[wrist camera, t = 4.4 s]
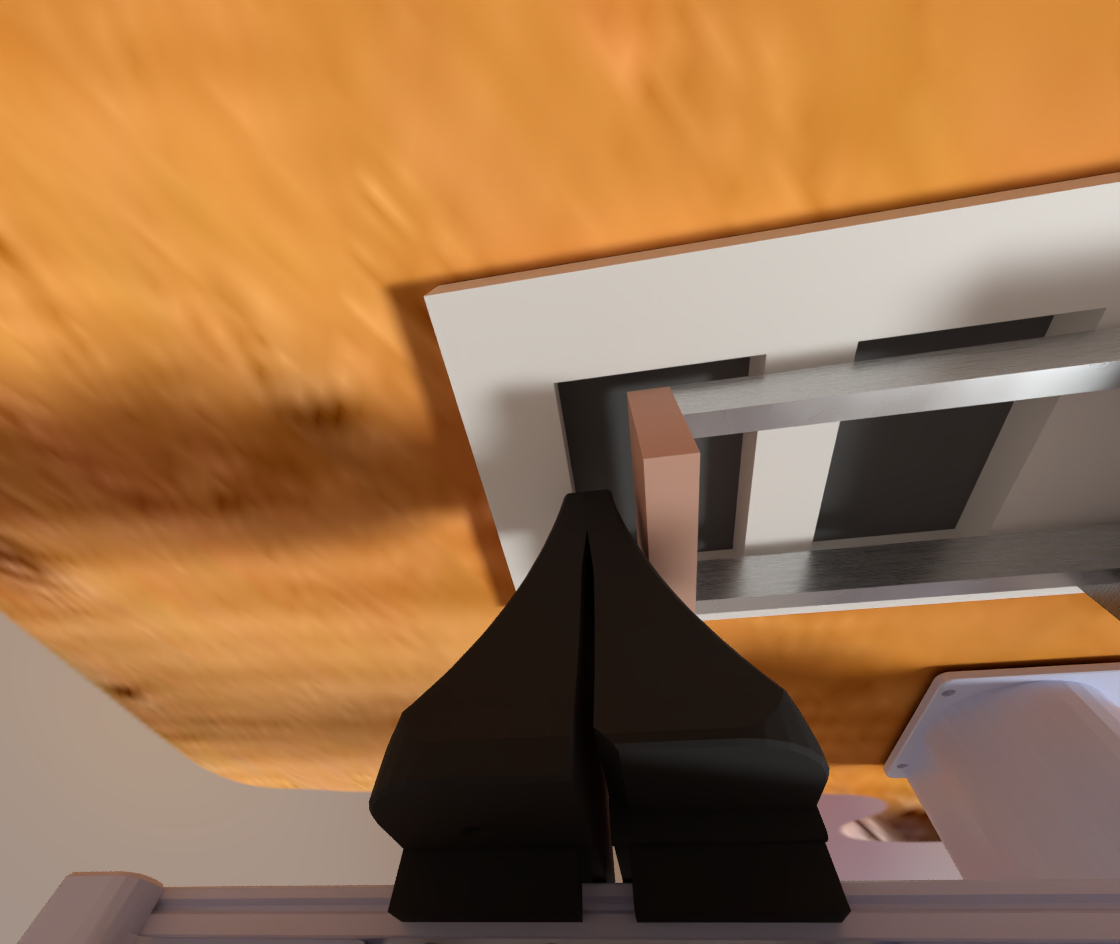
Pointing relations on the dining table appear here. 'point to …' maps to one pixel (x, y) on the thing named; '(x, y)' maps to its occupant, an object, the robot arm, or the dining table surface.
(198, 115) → the dining table surface
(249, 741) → the dining table surface
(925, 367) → the steel sled
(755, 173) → the dining table surface
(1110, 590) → the tunnel
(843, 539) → the track deck
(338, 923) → the robot arm
